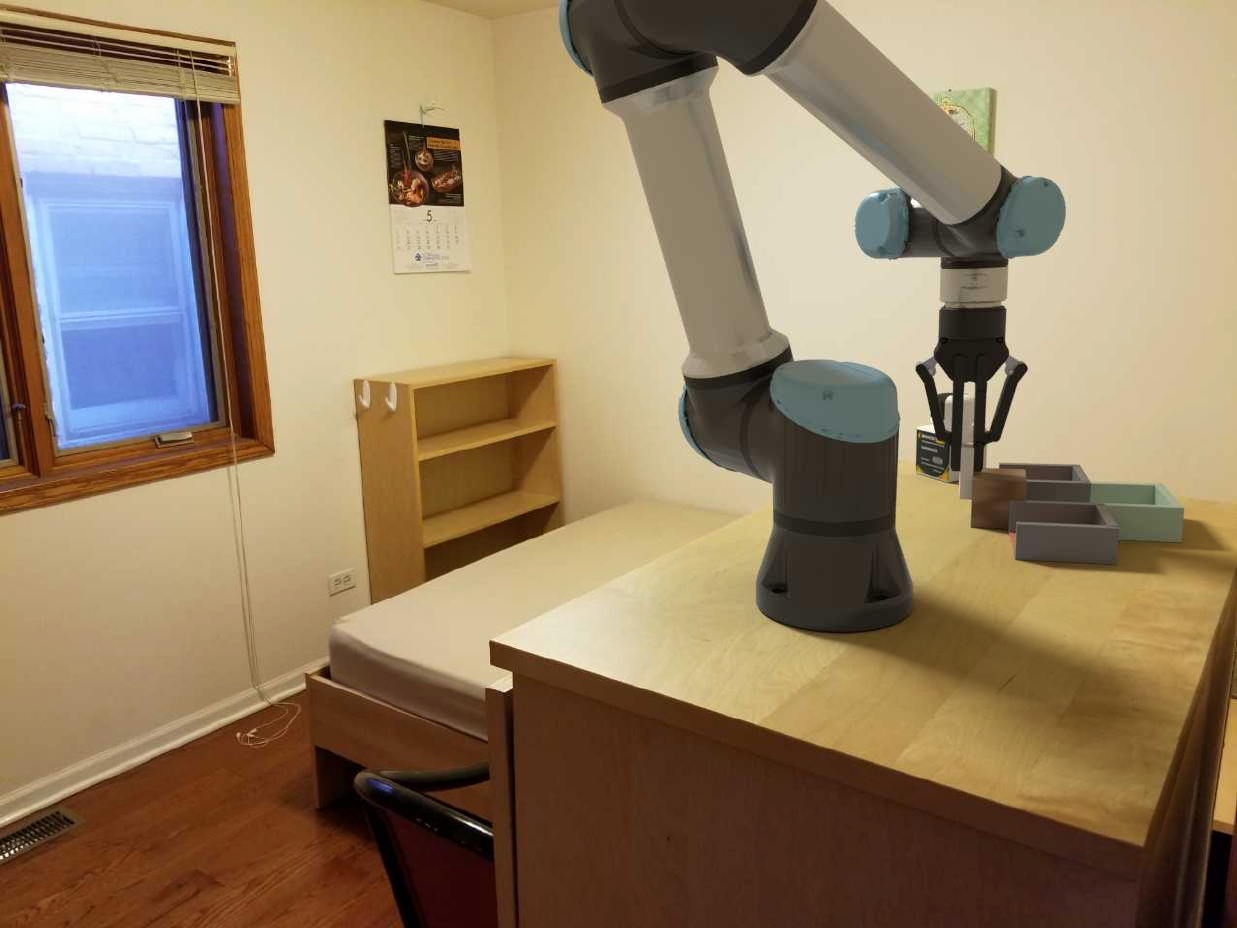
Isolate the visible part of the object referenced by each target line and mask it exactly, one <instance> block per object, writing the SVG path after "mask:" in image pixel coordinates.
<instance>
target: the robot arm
mask: <svg viewBox="0 0 1237 928" xmlns="http://www.w3.org/2000/svg"><path fill="white" fill-rule="evenodd" d="M558 27H559V31H560V35H561V40H562V43H563V46H564V48H565V49H566V51H567V53H568V55H569V56H570V58H571V60H572V61H573V62H574V64H575V65H576V66H577V67H578V69H580V70H583V72H584V73H586V74H587V75H589V77H591V78H593V79H594V82H595V86H596V90H597V94H598V95H599V100H600V103H601V106H602V107H603V109H605V110H606V111H608V112H609V113H612V114H614V115H615V116H617V117H618V118H620V119H621V120H622V122H623V124H624V127H625V131H626V134H627V138H628V141H629V144H630V149H631V151H632V155H633V158H634V162H635V165H636V169H637V172H638V175H639V178H640V179H639V180H640V182H641V186H642V189H643V193H644V196H645V200H646V203H647V206H648V210H649V214H650V217H651V219H652V224H653V226H654V230H655V234H656V237H657V240H658V244H659V246H660V250H661V253H662V257H663V260H664V264H665V267H666V271H667V274H668V278H669V281H670V284H671V288H672V291H673V295H674V297H675V301H676V305H677V308H678V311H679V315H680V317H681V323H682V325H683V328H684V333H685V335H686V336H685V337H686V339H687V343H688V345H689V352H688V354H687V356H686V357H685V359H684V361H683V363H682V365H681V367H680V369H681V372H682V377H683V380H684V381H683V382H684V384H683V387H682V390H683V392H682V394H681V396H680V397H679V399H678V406H677V412H678V421H679V422H678V423H679V426H680V429H681V432H682V434H683V436H684V438H685V440H686V441H687V443H688V444H689V446H690V447H691V448H692V449H693V451H695V452H696V453H697V454H698V456H701V457H702V458H703V459H705V460H707V461H709V462H710V463H712V464H714V466H717V467H719V468H722V469H724V470H727V471H730V472H735V473H741V474H743V475H745V476H749V477H752V478H755V479H757V480H760V481H763V482H765V483H768V484H771V485H772V528H771V532H770V536H769V539H768V542H767V546H766V548H765V551H764V554H763V557H762V561H761V563H760V565H759V568H758V572H757V575H756V578H755V579H756V581H755V603H756V604H755V605H756V606H757V608H758V609H759V610H760V612H762V613H763V614H764V615H766V616H768V617H769V618H770V619H772V620H775V621H777V622H780V623H783V624H786V625H789V626H793V627H796V628H802V629H806V630H812V631H824V632H837V633H838V632H840V633H841V632H843V633H845V632H863V631H871V630H876V629H880V628H881V629H882V628H885V627H888V626H892V625H894V624H897V623H899V622H901V621H903V620H904V619H906V618H907V617H908V616H910V614H911V613H912V611H913V609H914V608H913V607H914V584H913V581H912V577H911V574H910V571H909V568H908V564H907V560H906V559H905V555H904V551H903V549H902V546H901V542H900V539H899V537H898V533H897V526H896V524H897V523H896V521H897V519H896V518H897V494H898V493H897V492H898V469H899V465H898V464H899V442H900V425H901V424H900V422H901V415H900V412H899V401H898V398H899V397H898V388H897V386H896V383H895V382H894V380H893V379H892V378H891V377H890V376H889V375H888V374H887V373H885V372H883V371H882V370H880V369H878V368H875V367H872V366H869V365H866V364H862V363H857V362H853V361H837V360H834V359H822V358H821V359H815V358H814V359H811V358H810V359H799V360H794V356H793V353H792V347H791V343H790V340H789V338H788V336H786V335H785V334H783V333H782V332H780V331H778V330H776V329H775V328H772V326H771V325H770V322H769V317H768V314H767V309H766V306H765V303H764V298H763V295H762V290H761V287H760V284H759V280H758V275H757V273H756V268H755V265H754V261H753V257H752V253H751V250H750V249H751V248H750V245H749V241H748V238H747V234H746V230H745V227H744V223H743V219H742V218H743V217H742V215H741V211H740V208H739V203H738V200H737V196H736V192H735V188H734V185H733V180H732V177H731V172H730V169H729V165H728V162H727V161H728V160H727V157H726V153H725V150H724V146H723V143H722V138H721V135H720V134H721V133H720V132H719V127H718V123H717V119H716V116H715V115H716V114H715V112H714V108H713V104H712V100H711V95H710V89H711V87H712V85H713V83H714V80H715V78H716V76H717V74H718V72H719V71H720V65H719V62H718V58H720V59H723V60H725V61H726V62H727V63H729V64H731V65H732V66H733V67H734V68H735V69H737V70H738V71H739V72H740V73H741V74H742V75H743V76H746V77H748V78H749V77H750V78H752V77H758V76H761V75H764V76H765V77H766V78H767V79H769V81H771V82H772V83H773V84H775V85H776V86H777V87H778V88H779V89H780V90H782V91H783V92H784V93H785V94H786V95H788V97H790V98H791V99H792V100H794V101H795V102H796V103H797V104H798V105H800V106H801V107H802V108H804V109H805V110H806V111H807V112H808V113H810V114H811V115H812V116H813V117H814V118H815V119H816V120H818V122H820V123H821V124H823V125H824V126H825V127H826V128H828V130H830V131H831V132H832V133H833V134H834V135H836V136H837V137H838V138H839V139H840V140H842V142H844V143H845V144H846V145H848V147H850V148H851V149H852V150H854V151H855V152H856V153H857V154H859V155H860V156H861V157H862V158H864V159H865V160H866V161H867V162H868V163H870V164H871V165H872V166H873V167H875V169H877V171H879V172H880V173H881V174H883V175H884V176H885V177H886V178H887V179H888V180H890V181H891V182H893V184H895V185H896V186H897V187H890V188H888V189H878V190H873V191H872V192H870V193H868V194H867V195H866V196H865V197H864V198H863V199H862V200H861V202H860V204H859V205H858V207H857V210H856V213H855V217H854V222H855V224H854V236H855V239H856V243H857V245H858V246H859V248H860V250H861V251H862V252H863V253H864V254H865V255H866V256H868V257H870V258H872V259H876V260H877V259H878V260H882V259H883V260H885V259H886V260H887V259H888V260H889V261H891V260H898V259H908V258H910V259H912V258H940V268H939V269H940V271H939V272H940V273H939V302H941V303H944V305H943V306H941V307H940V308H939V310H938V311H939V312H938V335H937V336H938V339H937V344H936V346H935V348H934V349H933V354H932V355H931V356H929V357H928V358H926V359H925V360H923V361H918V362H916V364H915V373H916V375H917V376H918V377H919V378H920V380H921V381H922V383H923V387H924V390H925V395H926V398H927V402H928V408H929V412H930V413H931V417H932V421H933V425H934V430H935V434H936V438H937V440H938V441H943V442H946V443H948V444H949V445H950V446H951V455H950V467H951V470H952V471H960V472H959V481H958V498H959V500H966V501H969V500H971V501H972V480H973V472H981V471H982V469H983V459H984V447H985V446H986V445H987V446H988V444H990V443H998V442H999V441H1000V440H1001V438H1002V435H1003V432H1004V428H1005V425H1006V423H1007V419H1008V415H1009V412H1010V408H1011V406H1012V402H1013V400H1014V396H1015V395H1016V394H1015V393H1016V390H1017V388H1018V384H1019V382H1020V381H1022V379H1023V377H1024V376H1025V375H1026V373H1027V372H1028V370H1029V367H1028V365H1027V364H1026V362H1024V361H1023V360H1019V359H1016V358H1015V357H1014V356H1012V355H1011V354H1010V349H1009V347H1008V345H1007V342H1006V329H1007V308H1006V306H1005V305H1002V302H1004V301H1006V300H1007V299H1008V285H1009V284H1008V283H1009V282H1008V281H1009V260H1012V259H1015V258H1020V257H1021V258H1022V257H1034V256H1035V257H1036V256H1038V255H1041V254H1044V253H1046V252H1047V251H1049V250H1050V249H1051V248H1052V247H1053V246H1055V244H1056V243H1057V241H1058V239H1059V237H1060V236H1061V232H1062V231H1063V229H1064V227H1065V222H1066V217H1067V207H1066V200H1065V197H1064V195H1063V191H1062V190H1061V188H1060V187H1059V185H1058V184H1057V183H1056V182H1054V181H1053V180H1051V179H1050V178H1046V177H1042V176H1041V177H1040V176H1038V177H1037V176H1036V177H1035V176H1032V175H1022V177H1018V176H1015V175H1014V174H1013V173H1012V172H1011V171H1009V170H1008V169H1007V168H1006V167H1005V166H1004V165H1002V164H1001V163H1000V162H999V161H998V160H997V159H996V158H995V157H994V156H993V155H992V154H991V153H990V152H989V151H988V150H986V149H985V148H984V147H983V146H982V145H981V143H979V142H978V141H977V140H976V139H975V138H974V137H973V136H971V135H970V134H969V133H968V131H966V130H965V129H964V128H963V127H962V126H961V125H960V124H959V123H958V122H957V121H956V120H954V119H953V117H952V116H950V115H949V113H947V112H946V111H945V110H944V109H943V108H942V107H941V106H940V105H938V104H937V103H936V102H935V101H934V100H933V99H932V98H931V97H930V96H929V95H928V94H927V93H926V92H925V91H923V89H921V87H919V86H918V85H917V84H916V83H915V82H914V81H913V80H912V79H911V78H910V77H908V75H907V74H905V73H904V72H903V71H902V70H901V69H900V68H899V67H898V66H897V65H896V64H894V62H892V60H891V59H889V58H888V57H887V56H886V55H885V54H884V53H883V52H882V51H880V49H879V48H878V47H876V46H875V45H874V44H873V43H872V42H871V41H870V40H869V39H868V38H866V36H865V35H863V34H862V33H861V32H860V31H859V30H858V29H857V28H856V27H855V26H854V25H853V24H852V23H851V22H850V21H849V20H847V18H845V17H844V16H843V15H842V14H841V13H840V12H839V11H838V10H837V9H836V8H835V7H834V6H832V5H831V4H830V2H828V1H827V0H559V6H558ZM937 364H938V365H939V367H940V369H942V370H943V372H944V374H945V375H946V376H947V377H948V379H950V381H952V393H953V395H952V422H951V431H948V430H946V429H945V425H944V420H943V416H942V412H941V407H940V403H939V398H938V394H939V393H938V390H937V385H936V381H935V378H934V376H935V375H936V374H937V368H936V366H937ZM1004 364H1005V367H1004V374H1005V375H1006V377H1005V379H1004V382H1003V385H1002V389H1001V392H1000V395H999V398H998V401H997V405H996V406H995V407H996V409H995V411H994V414H993V418H992V421H991V424H990V427H989V429H988V431H986V432H985V428H986V415H987V392H988V381H990V380H992V378H993V377H994V376H995V375H996V374H997V372H998V371H999V370H1000V368H1001V367H1002V366H1003V365H1004ZM965 383H966V384H967V383H974V423H973V424H972V425H973V443H962V427H963V402H964V394H965Z"/></svg>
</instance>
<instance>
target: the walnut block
mask: <svg viewBox="0 0 1237 928" xmlns="http://www.w3.org/2000/svg"><path fill="white" fill-rule="evenodd" d="M1026 486H1027V480H1026V472H1025V469H999V467H998V468H995V467H994V468H992V467H991V468H990V467H986V468H983V469H982V471H981V472H973V480H972V500H971V505H970V507H971V510H970V528H979V527H980V528H981V527H982V528H981V529H995V528H1001V529H1000V530H1008V528H1009V507H1010V500H1026ZM980 528H979V529H980Z"/></svg>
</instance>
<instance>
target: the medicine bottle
mask: <svg viewBox="0 0 1237 928" xmlns="http://www.w3.org/2000/svg"><path fill="white" fill-rule="evenodd" d="M937 394H938V398H939V403H940V407H941V412H942V416H943V420H944V425H945V429H946V430H948V431H951V422H952V395H953V392H942V393H937ZM974 399H975V397H974V396H972V395H970V394H968V393H964V402H963V427H962V443H973V425H974ZM929 420H930V421H929V422H930V423H931V424H926V425H919V426H917V427H916V444H915V473H916V474H918V475H921V476H925V477H927V478H931V479H935V480H938V481H941V482H945V483H948V484H949V483H955V482H959V472H960V471H952V470H951V467H950V455H951V446H950V445H949V444H948V443H946V442H943V441H938V440H937V438H936V434H935V430H934V425H933V421H932V417H931V412H930V416H929ZM986 431H989V429H988V428H986V427H985V432H986ZM987 453H988V444H987V445H986V446H985V447H984V459H983V468H987V457H988V454H987Z"/></svg>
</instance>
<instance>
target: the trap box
mask: <svg viewBox="0 0 1237 928" xmlns="http://www.w3.org/2000/svg"><path fill="white" fill-rule="evenodd" d="M998 468H999V469H1025V472H1026V480H1027V486H1026V500H1010V507H1009V528H1008V529H1007V530H1008V536H1009V540H1010V541H1009V542H1010V544H1011V548H1012V552H1013V556H1014V560H1021V561H1041V562H1055V563H1056V562H1058V563H1059V562H1060V563H1079V564H1094V565H1117V564H1118V553H1119V551H1118V550H1119V541H1140V542H1141V541H1142V542H1160V543H1182V541H1183V540H1182V538H1183V528H1184V527H1183V526H1184V516H1185V507H1184V506H1183V504H1182V503H1181V502H1180V501H1179V500H1178V499H1177V498H1176V497H1175V496H1174V495H1173V494H1172V492H1171V491H1170V490H1169V489H1168V488H1167V487H1166V485H1164V483H1163V482H1162V483H1159V482H1157V483H1156V482H1155V483H1154V482H1129V481H1127V482H1126V481H1125V482H1123V481H1120V482H1119V481H1118V482H1117V481H1090V479H1089V478H1088V477H1089V476H1088V475H1087V474H1086V473H1085V471H1084V469H1083V468H1082V465H1081V464H1068V463H1030V462H1029V463H1028V462H1027V463H1025V462H998Z"/></svg>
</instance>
